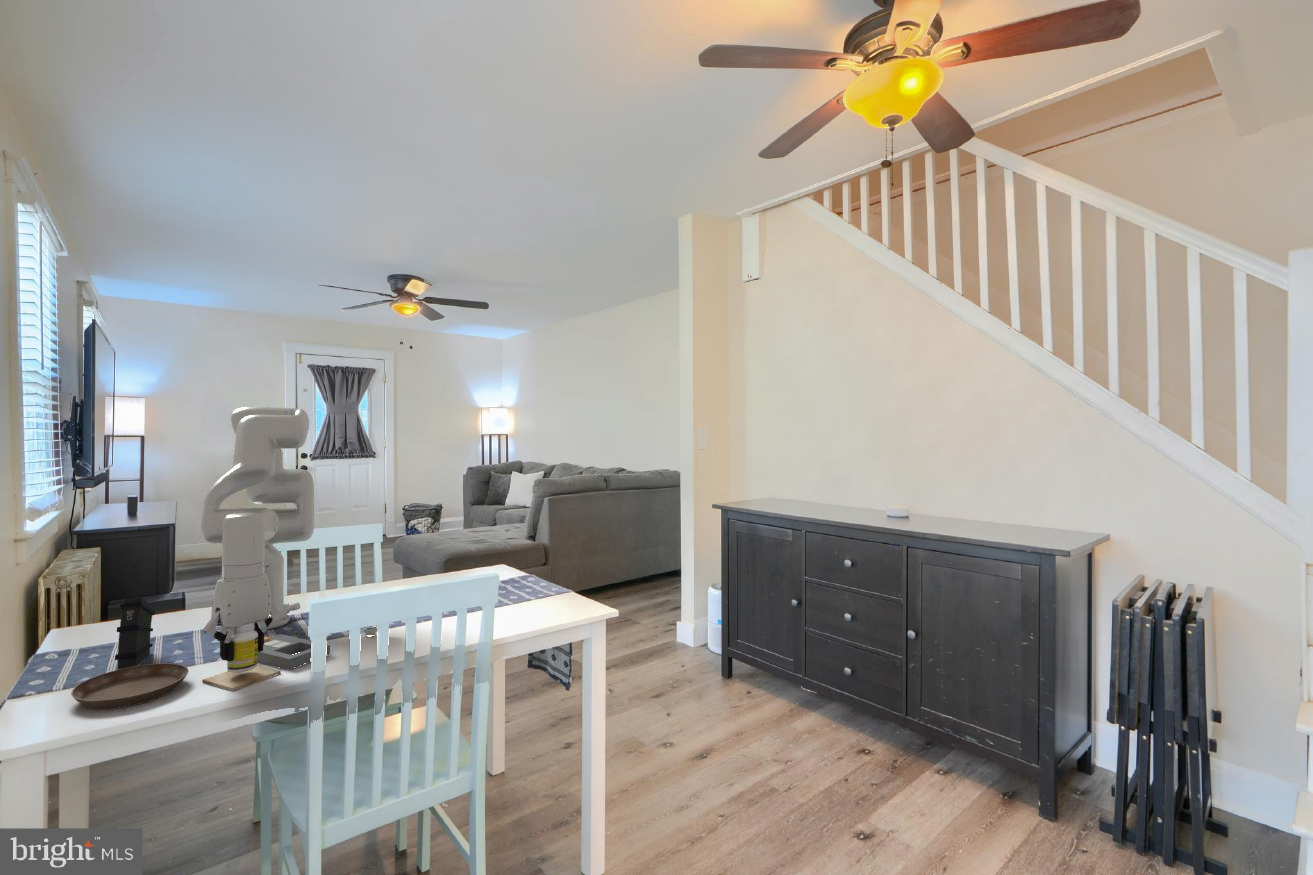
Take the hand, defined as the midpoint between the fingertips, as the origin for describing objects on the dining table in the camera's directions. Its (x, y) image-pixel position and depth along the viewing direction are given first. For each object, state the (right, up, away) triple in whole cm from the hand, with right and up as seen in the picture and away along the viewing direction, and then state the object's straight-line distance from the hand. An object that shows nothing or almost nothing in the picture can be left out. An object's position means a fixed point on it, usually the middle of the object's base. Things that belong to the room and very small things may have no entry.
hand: (242, 654), depth 128 cm
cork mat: (0, -5, 0) cm, 5 cm away
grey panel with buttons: (+1, -5, +12) cm, 14 cm away
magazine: (-31, -5, +9) cm, 33 cm away
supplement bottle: (0, -3, 0) cm, 3 cm away
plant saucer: (-16, -5, -8) cm, 19 cm away
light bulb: (+14, -5, +27) cm, 31 cm away
